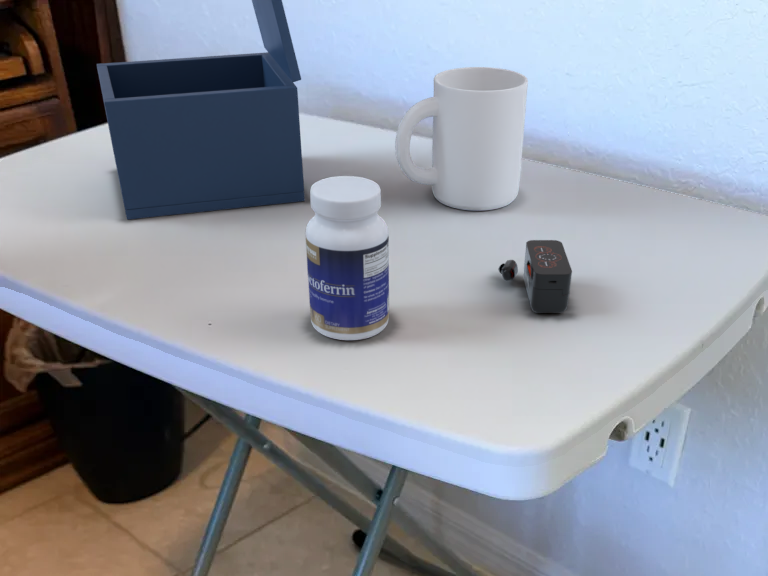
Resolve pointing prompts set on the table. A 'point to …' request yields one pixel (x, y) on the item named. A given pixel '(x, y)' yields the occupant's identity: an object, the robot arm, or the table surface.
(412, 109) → the mug
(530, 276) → the wireless earbuds
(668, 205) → the table surface
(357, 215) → the pill bottle
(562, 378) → the table surface
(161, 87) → the dark blue open box
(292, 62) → the lid
